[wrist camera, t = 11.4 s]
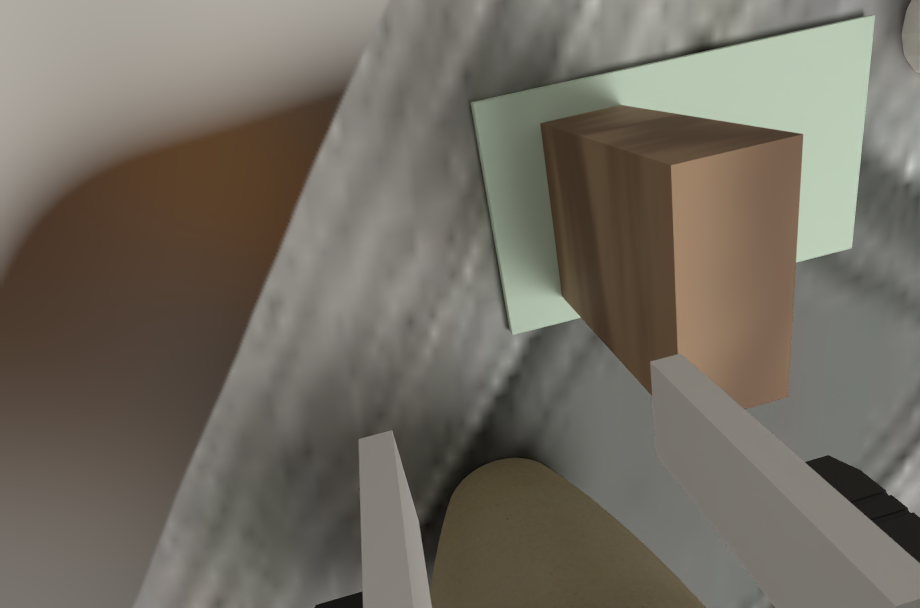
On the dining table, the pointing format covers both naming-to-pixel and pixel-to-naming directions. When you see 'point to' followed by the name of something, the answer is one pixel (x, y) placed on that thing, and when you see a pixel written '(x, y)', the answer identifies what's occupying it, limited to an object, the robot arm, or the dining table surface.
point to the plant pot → (542, 548)
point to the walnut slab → (680, 241)
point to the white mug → (912, 35)
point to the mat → (693, 94)
